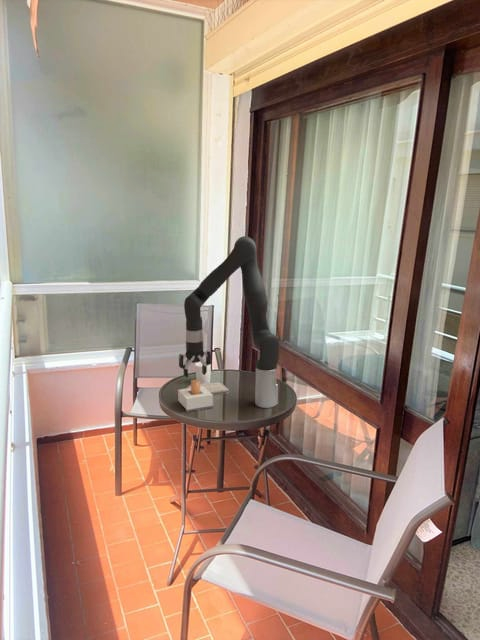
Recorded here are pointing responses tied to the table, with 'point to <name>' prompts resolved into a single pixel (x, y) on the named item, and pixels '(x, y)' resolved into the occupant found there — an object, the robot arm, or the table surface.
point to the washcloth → (215, 388)
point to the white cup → (200, 376)
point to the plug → (195, 387)
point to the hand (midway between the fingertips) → (195, 375)
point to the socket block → (195, 399)
